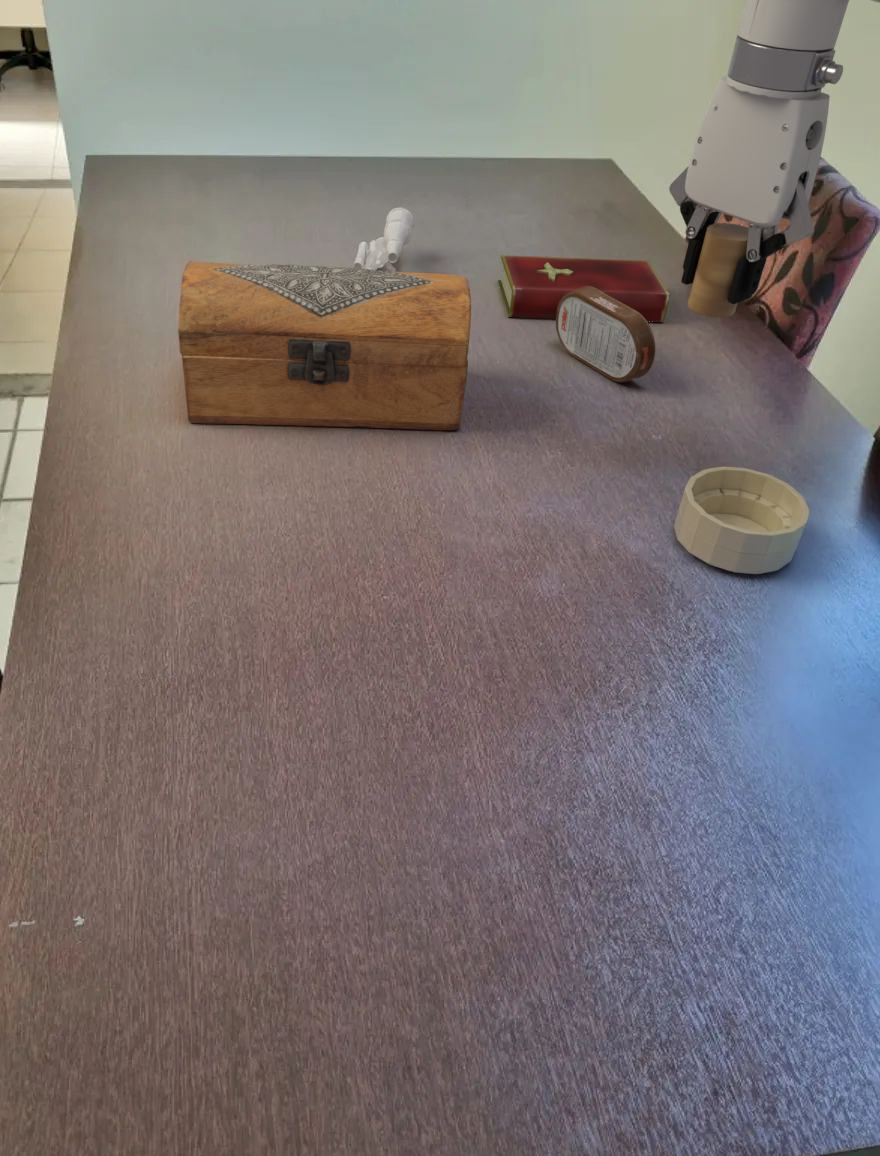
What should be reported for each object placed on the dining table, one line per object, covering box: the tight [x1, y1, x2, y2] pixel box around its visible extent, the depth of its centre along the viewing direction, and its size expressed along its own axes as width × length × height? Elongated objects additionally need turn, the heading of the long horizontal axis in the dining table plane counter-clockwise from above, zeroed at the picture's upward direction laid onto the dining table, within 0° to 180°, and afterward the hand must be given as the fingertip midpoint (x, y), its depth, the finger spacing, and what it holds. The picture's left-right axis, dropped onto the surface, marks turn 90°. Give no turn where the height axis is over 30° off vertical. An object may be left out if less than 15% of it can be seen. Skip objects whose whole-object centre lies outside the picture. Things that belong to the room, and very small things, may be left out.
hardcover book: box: [497, 254, 671, 323], centre depth 133 cm, size 12×21×4 cm, turn 93°
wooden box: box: [177, 260, 472, 431], centre depth 106 cm, size 30×16×14 cm, turn 91°
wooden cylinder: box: [687, 222, 749, 318], centre depth 89 cm, size 4×4×7 cm
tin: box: [555, 286, 656, 383], centre depth 117 cm, size 15×3×8 cm, turn 34°
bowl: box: [673, 466, 811, 575], centre depth 92 cm, size 11×11×5 cm
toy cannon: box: [352, 207, 415, 272], centre depth 137 cm, size 8×14×5 cm
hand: (716, 288), depth 90 cm, fingers closed on wooden cylinder, 4 cm apart
